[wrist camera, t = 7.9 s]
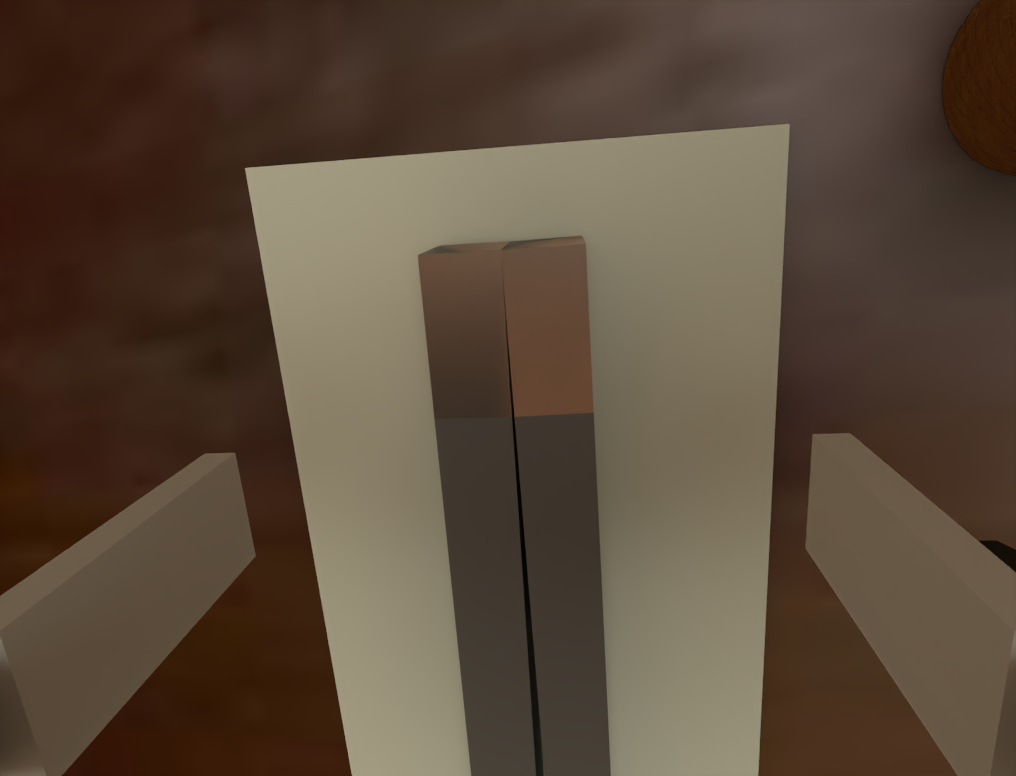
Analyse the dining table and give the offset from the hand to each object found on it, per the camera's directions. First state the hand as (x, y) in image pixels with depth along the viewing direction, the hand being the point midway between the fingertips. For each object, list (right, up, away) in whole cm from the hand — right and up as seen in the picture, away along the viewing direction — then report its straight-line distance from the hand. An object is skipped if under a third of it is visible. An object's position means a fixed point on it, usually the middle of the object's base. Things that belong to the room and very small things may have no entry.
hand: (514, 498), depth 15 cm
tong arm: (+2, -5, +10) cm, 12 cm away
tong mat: (+1, -5, +12) cm, 13 cm away
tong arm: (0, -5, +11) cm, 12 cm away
